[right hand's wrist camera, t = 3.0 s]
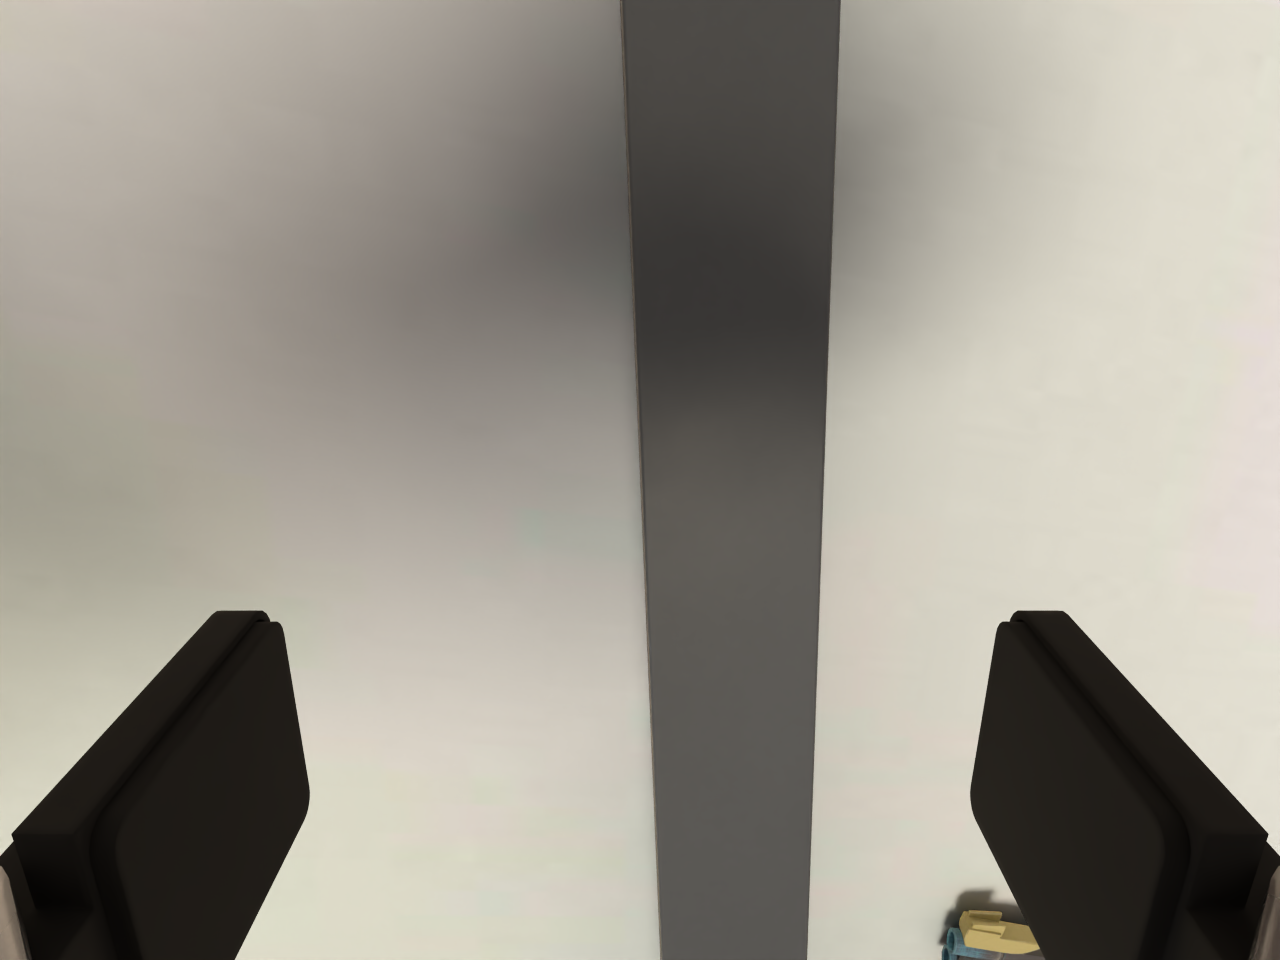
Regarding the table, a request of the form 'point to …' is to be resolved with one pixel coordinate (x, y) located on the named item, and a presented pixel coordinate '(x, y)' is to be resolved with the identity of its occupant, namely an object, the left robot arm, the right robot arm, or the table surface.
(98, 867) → the right robot arm
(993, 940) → the toy gun
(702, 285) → the post
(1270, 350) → the table surface
